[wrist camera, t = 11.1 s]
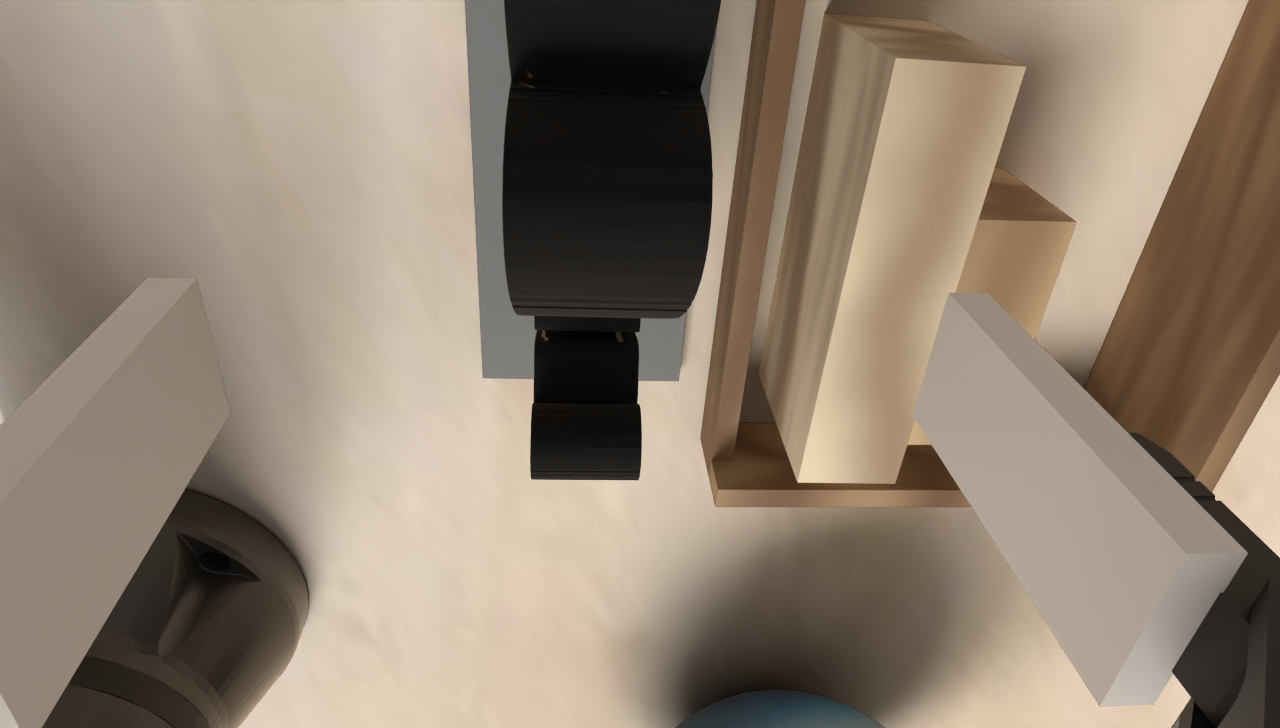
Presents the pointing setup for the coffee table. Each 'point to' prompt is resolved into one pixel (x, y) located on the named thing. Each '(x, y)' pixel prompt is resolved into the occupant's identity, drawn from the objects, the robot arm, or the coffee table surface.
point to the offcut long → (877, 235)
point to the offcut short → (1014, 255)
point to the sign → (602, 208)
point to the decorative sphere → (778, 712)
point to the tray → (1142, 328)
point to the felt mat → (501, 327)
